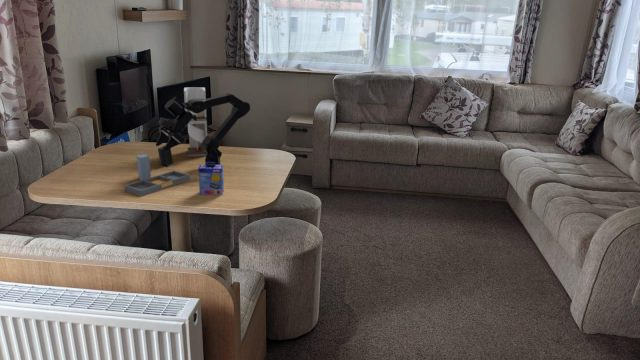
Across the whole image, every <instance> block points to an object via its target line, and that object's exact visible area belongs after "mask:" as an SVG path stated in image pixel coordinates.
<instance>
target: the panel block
mask: <svg viewBox="0 0 640 360" xmlns="http://www.w3.org/2000/svg"><path fill="white" fill-rule="evenodd" d="M150 161H151V160H150V156H149V155H147V154H146V153H142V154H136V164H137V174H138V175H137V176H138V179H139V181H141V180H144V179H147V178H151V177H152V175H151V162H150Z"/></svg>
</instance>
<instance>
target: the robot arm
mask: <svg viewBox="0 0 640 360" xmlns="http://www.w3.org/2000/svg"><path fill="white" fill-rule="evenodd" d="M224 104H230V105H231V106H232V107H231V110H230V114H228V116H227V117H226V119H225V120H224V121H223V122H222V124H221V125H220V126H219V127H218V128H217V130H216V131H214V133H213V134H212V135H208V134H207V136H206V137H205V139H204V140H203V141H202V144H201V149H202V150H203V151H204V152H205V154H207V155H206V156H205V158H204V162H205V163H204V165H206V162H214V163H215V165H221V157H222V154H223V152H222V151H220V150H219V149H220V145H221V141H222V140H223V139H224V137H225V136H226V135H227V134H228V132H229V131H231V128H233V126H234V125H235V124H236V123H237V122H238V120H240V119H241V118H243V117H245V116H246V115H247V114H248V113H249V112H250V110H251V105H250V103H249V102H247V101H244V100H242V99H240V98H238V97H237V96H235V95H234V94H232V93H229V92H227V93H225V94H221V95H216V96H212V97H208V98H206V99H191V100H189V101H188V102H186V103H185V102H181V101H180V100H179V99H178V98H177V97H176V96H174V97H173V98H171V99H170V100H168V101H167V102H166V103H165V105H164V108H165V110H167V111H168V112H169V113H170V114H171V115H173V117H176V116H177V117H176V118H175V119H174V118H173V119H171V118H164V117H161V116H160V118H159V121H158V125H159V127H158V132H159V135H158V138H157V140H156V143H155V146H156V147H159V146H161V145H162V144H164V143H165V142H166V144H165V145H164V146H165V147H164V148H163V150H164V151H166V150H168V149H170V148H171V149H172V148H174V147H176V146H179V145H181V144H184V143H185V141H186V138H185V136H183V135H182V134H181V133H182V132H183V131H186V130H187V127H188V123H189V122H190V121H191V120H192V119H193V120H195V121H197V119H196V115H193V114H192V113H190V112H189V111H191V112H193V113H200V112H202V111H204V110H206V111H207V109H208V108H213V107H217V106H221V105H224ZM185 109H187V110H189V111H187V112H186V111H185ZM209 164H212V163H209Z"/></svg>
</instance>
